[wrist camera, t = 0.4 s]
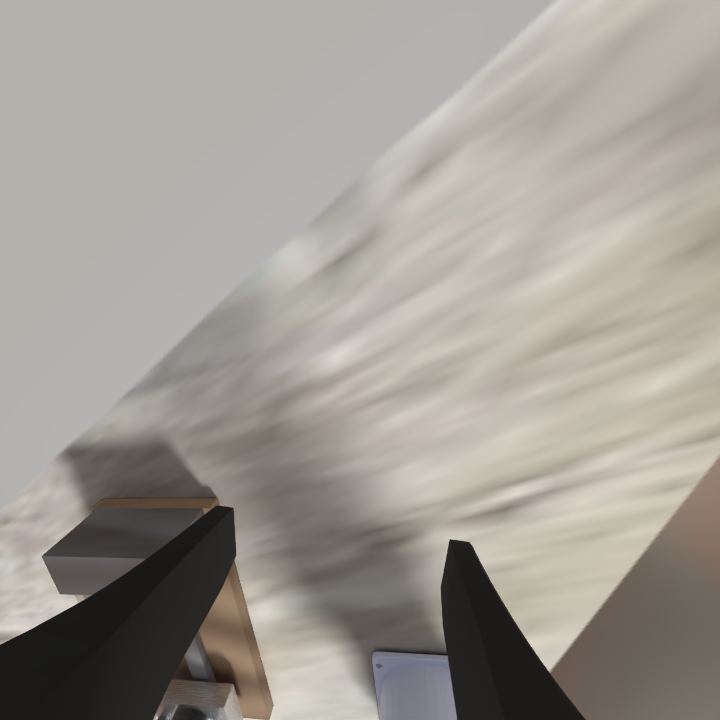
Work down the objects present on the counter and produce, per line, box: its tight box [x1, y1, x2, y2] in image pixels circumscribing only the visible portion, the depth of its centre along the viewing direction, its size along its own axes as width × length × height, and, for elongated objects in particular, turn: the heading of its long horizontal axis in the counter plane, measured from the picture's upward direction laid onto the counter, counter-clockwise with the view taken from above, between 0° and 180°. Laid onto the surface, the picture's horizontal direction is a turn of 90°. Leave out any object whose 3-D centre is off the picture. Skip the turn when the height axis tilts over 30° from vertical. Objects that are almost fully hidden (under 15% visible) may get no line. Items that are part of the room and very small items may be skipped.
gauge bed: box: [42, 498, 273, 720], centre depth 26 cm, size 22×9×5 cm, turn 6°
